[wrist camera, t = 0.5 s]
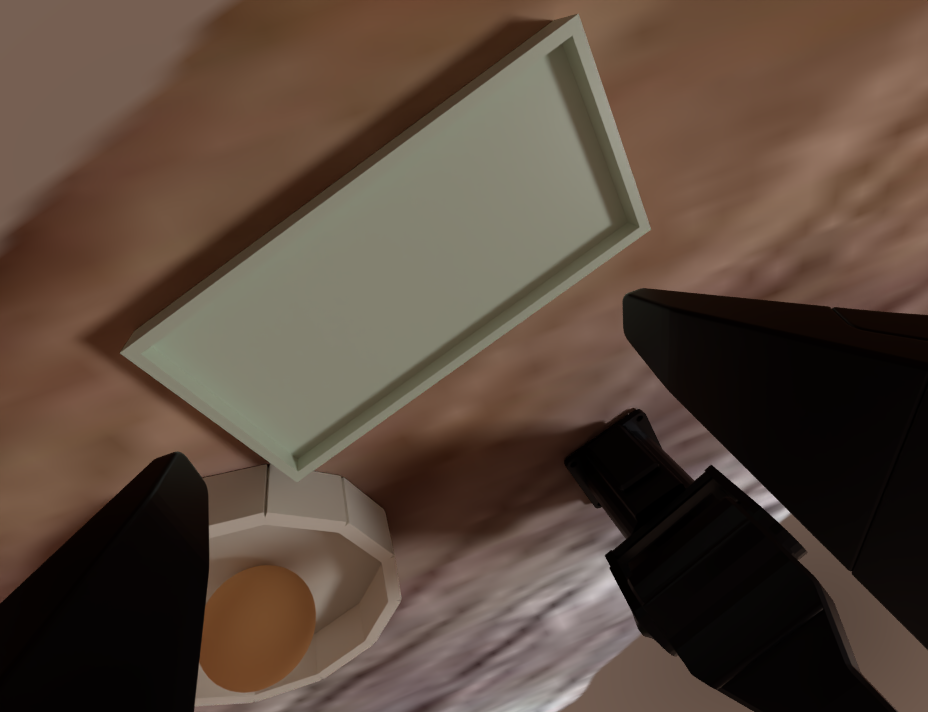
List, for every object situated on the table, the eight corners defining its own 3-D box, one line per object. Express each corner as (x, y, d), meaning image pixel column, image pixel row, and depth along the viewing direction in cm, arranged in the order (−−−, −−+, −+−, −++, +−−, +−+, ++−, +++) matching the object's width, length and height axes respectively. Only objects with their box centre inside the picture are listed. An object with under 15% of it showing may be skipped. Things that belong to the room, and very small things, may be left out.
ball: (334, 569, 30) (342, 666, 25) (258, 622, 30) (252, 729, 25) (264, 526, 26) (258, 628, 21) (180, 586, 27) (154, 701, 22)
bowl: (433, 548, 33) (446, 593, 30) (256, 672, 33) (252, 728, 31) (271, 418, 24) (268, 463, 21) (34, 589, 25) (0, 656, 22)
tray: (627, 219, 25) (650, 229, 23) (296, 457, 26) (297, 482, 24) (553, 20, 19) (578, 13, 18) (134, 331, 20) (119, 353, 18)
